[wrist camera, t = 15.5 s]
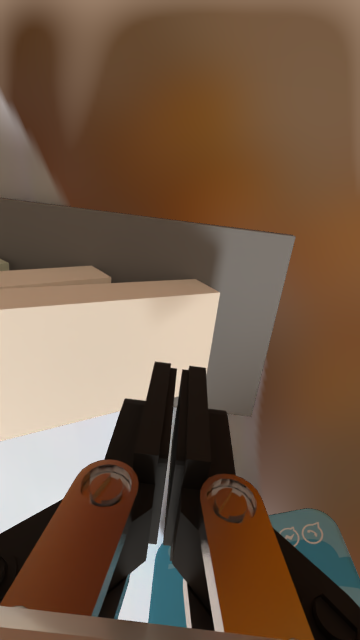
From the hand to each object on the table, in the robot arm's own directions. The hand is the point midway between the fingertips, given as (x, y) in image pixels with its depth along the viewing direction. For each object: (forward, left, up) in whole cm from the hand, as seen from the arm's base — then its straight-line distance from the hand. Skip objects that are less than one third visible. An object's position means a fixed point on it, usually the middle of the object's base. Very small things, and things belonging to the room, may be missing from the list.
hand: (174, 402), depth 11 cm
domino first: (+1, 0, -6) cm, 6 cm away
